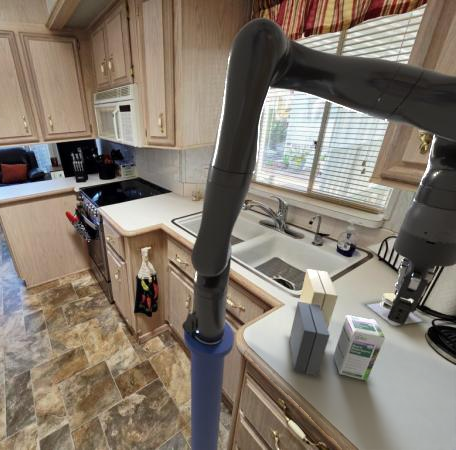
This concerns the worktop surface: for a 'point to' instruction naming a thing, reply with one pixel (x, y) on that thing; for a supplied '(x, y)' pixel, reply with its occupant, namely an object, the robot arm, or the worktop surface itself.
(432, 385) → the worktop surface
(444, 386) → the worktop surface
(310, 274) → the cream cookbooks
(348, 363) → the syrup box
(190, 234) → the worktop surface
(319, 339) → the grey books
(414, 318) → the stacked layers on plate
